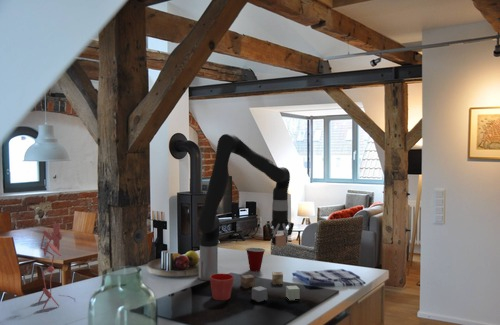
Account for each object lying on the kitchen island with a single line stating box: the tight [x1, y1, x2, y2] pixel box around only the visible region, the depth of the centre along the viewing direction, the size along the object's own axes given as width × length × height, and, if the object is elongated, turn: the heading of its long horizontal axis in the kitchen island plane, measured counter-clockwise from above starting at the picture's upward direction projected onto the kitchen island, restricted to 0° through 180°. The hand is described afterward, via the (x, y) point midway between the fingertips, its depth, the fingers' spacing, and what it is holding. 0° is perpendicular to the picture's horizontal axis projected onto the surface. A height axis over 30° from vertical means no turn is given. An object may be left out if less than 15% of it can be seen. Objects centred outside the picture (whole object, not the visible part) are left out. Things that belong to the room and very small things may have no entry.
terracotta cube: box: [273, 233, 287, 248], centre depth 230 cm, size 5×5×5 cm
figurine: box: [38, 221, 75, 313], centre depth 205 cm, size 15×26×35 cm, turn 35°
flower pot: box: [209, 273, 234, 301], centre depth 215 cm, size 11×11×10 cm
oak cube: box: [271, 271, 284, 286], centre depth 239 cm, size 5×5×5 cm
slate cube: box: [251, 285, 268, 303], centre depth 213 cm, size 5×5×5 cm
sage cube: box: [285, 285, 301, 301], centre depth 215 cm, size 5×5×5 cm
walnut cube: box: [240, 274, 256, 289], centre depth 233 cm, size 5×5×5 cm
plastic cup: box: [245, 247, 266, 272], centre depth 263 cm, size 11×11×12 cm
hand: (279, 244), depth 230 cm, fingers closed on terracotta cube, 5 cm apart
